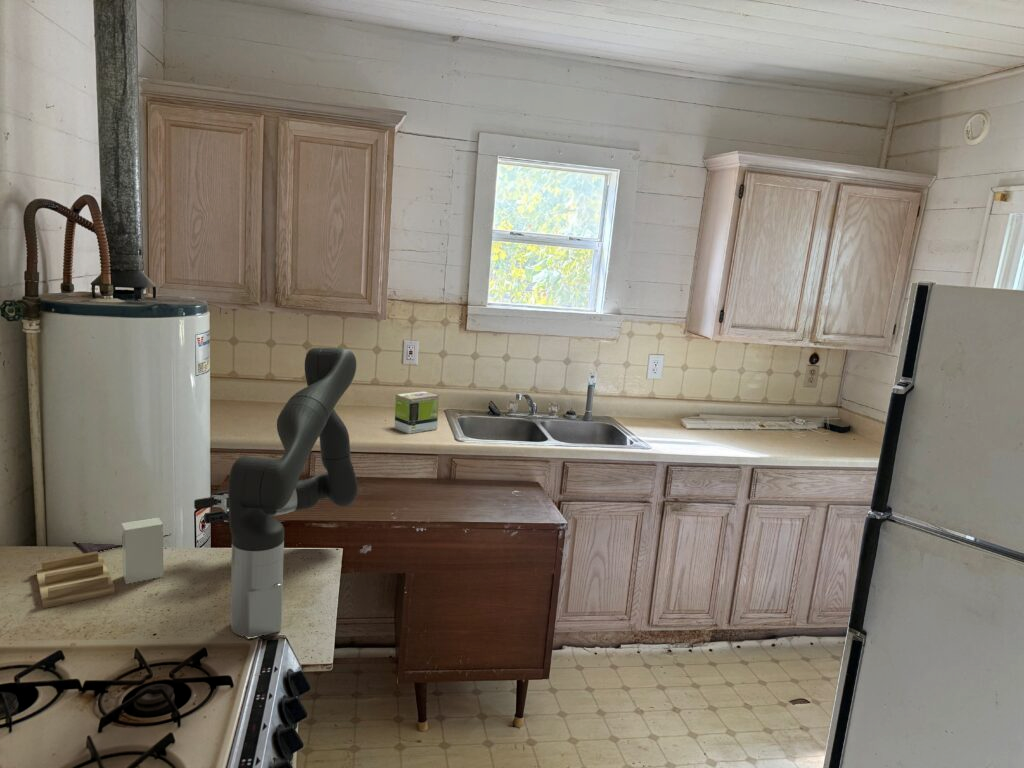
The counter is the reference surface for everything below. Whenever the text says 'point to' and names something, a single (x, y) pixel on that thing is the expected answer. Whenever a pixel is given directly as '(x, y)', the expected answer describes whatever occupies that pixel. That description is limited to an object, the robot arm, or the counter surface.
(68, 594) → the rack
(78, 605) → the counter surface
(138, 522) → the clay slab
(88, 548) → the chocolate bar
